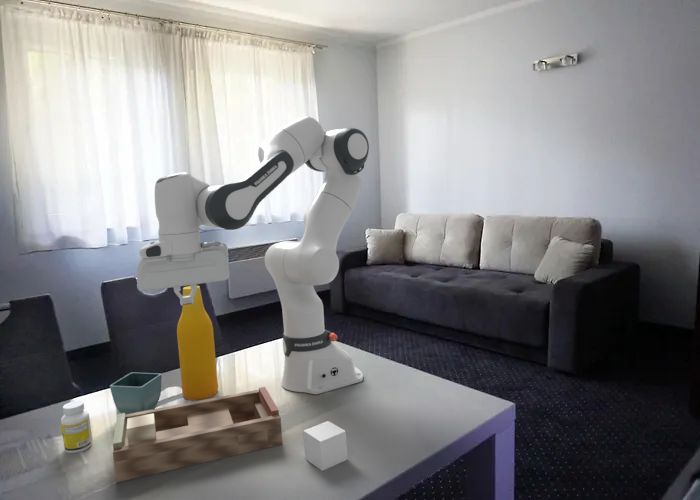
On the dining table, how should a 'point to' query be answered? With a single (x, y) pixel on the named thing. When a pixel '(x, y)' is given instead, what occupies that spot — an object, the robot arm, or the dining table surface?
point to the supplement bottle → (76, 427)
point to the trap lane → (198, 433)
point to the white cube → (325, 445)
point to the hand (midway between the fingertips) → (187, 304)
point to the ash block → (141, 429)
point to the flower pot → (137, 392)
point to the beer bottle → (196, 350)
